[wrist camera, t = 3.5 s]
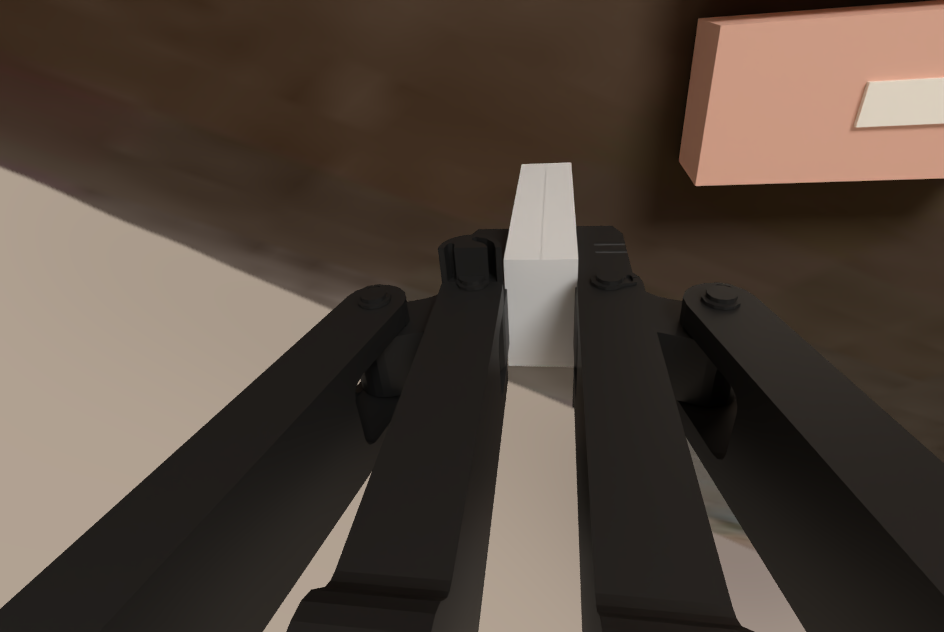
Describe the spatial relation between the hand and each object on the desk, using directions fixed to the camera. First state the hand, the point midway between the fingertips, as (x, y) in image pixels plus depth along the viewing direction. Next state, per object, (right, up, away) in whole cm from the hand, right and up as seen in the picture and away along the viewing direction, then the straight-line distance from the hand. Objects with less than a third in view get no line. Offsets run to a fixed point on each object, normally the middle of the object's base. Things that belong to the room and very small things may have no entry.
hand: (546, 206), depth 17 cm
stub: (+14, +7, +6) cm, 16 cm away
